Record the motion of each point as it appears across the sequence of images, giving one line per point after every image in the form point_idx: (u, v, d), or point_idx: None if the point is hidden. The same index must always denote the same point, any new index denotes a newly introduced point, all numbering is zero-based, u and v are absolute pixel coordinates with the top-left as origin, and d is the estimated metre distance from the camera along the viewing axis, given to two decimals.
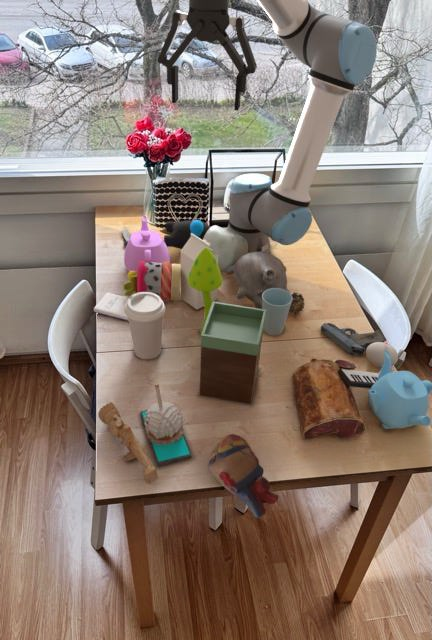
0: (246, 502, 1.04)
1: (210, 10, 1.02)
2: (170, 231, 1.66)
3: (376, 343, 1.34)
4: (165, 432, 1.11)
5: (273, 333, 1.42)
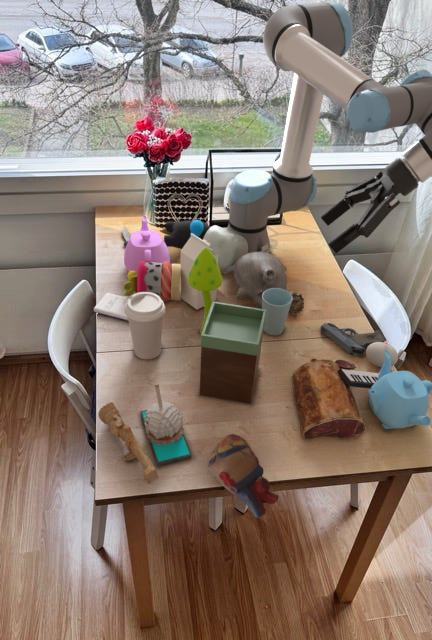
0: (246, 502, 1.04)
1: None
2: (170, 231, 1.66)
3: (376, 343, 1.34)
4: (165, 432, 1.11)
5: (273, 333, 1.42)
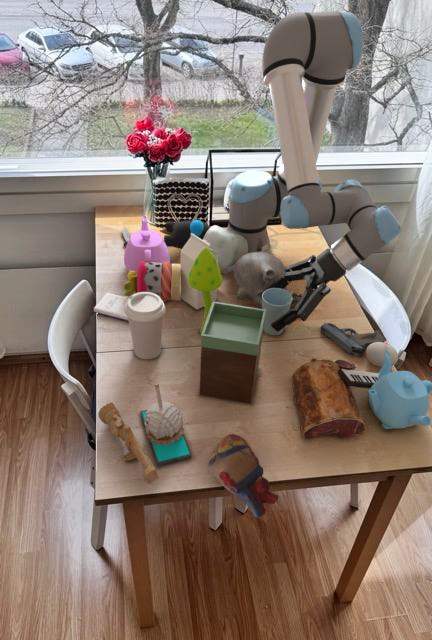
0: (246, 502, 1.04)
1: None
2: (170, 231, 1.66)
3: (376, 343, 1.34)
4: (165, 432, 1.11)
5: (273, 333, 1.42)
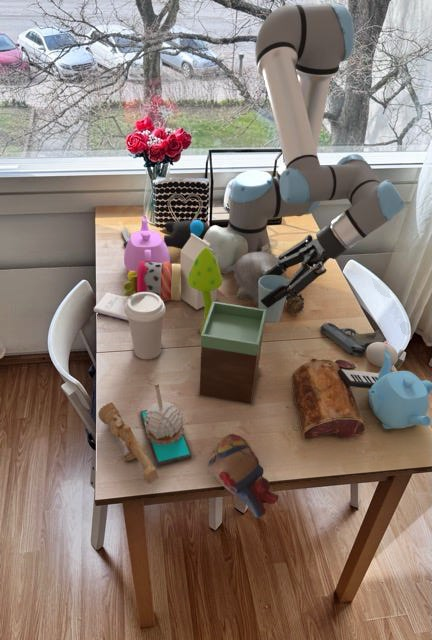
0: (246, 502, 1.04)
1: None
2: (170, 231, 1.66)
3: (376, 343, 1.34)
4: (165, 432, 1.11)
5: (270, 321, 1.38)
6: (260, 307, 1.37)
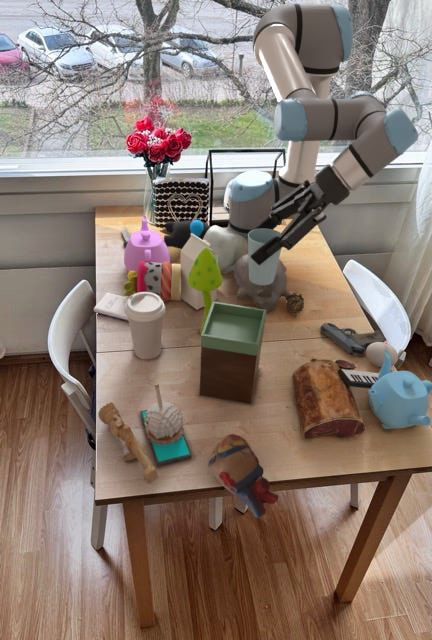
0: (246, 502, 1.04)
1: None
2: (170, 231, 1.66)
3: (376, 343, 1.34)
4: (165, 432, 1.11)
5: (262, 282, 1.20)
6: (250, 266, 1.19)
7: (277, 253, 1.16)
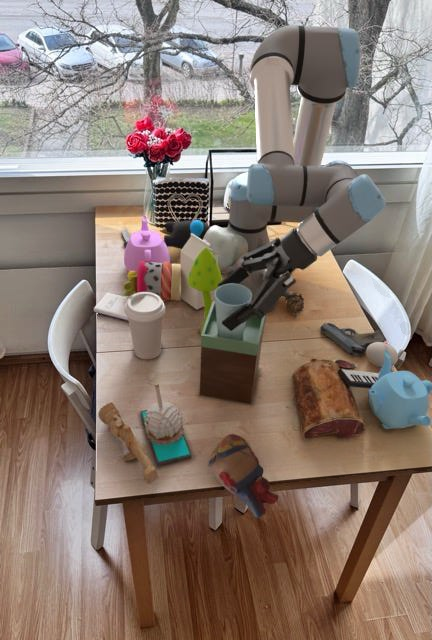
0: (246, 502, 1.04)
1: None
2: (170, 231, 1.66)
3: (376, 343, 1.34)
4: (165, 432, 1.11)
5: None
6: (218, 322, 1.14)
7: None
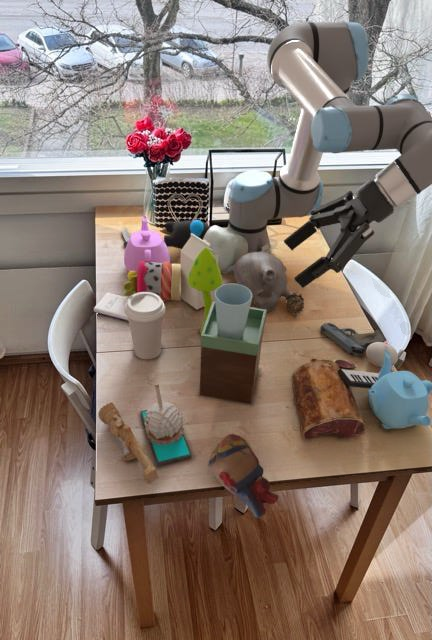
0: (246, 502, 1.04)
1: None
2: (170, 231, 1.66)
3: (376, 343, 1.34)
4: (165, 432, 1.11)
5: None
6: (218, 322, 1.14)
7: (245, 312, 1.11)
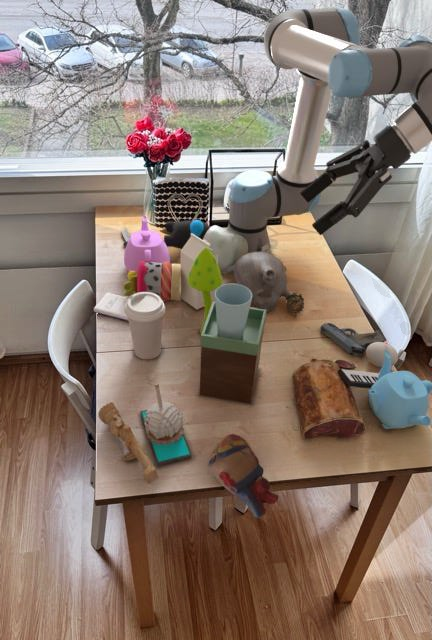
0: (246, 502, 1.04)
1: None
2: (170, 231, 1.66)
3: (376, 343, 1.34)
4: (165, 432, 1.11)
5: None
6: (218, 322, 1.14)
7: (245, 312, 1.11)
